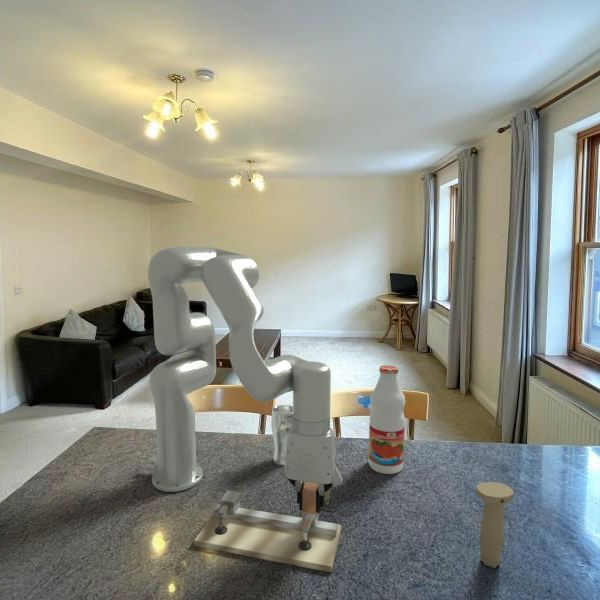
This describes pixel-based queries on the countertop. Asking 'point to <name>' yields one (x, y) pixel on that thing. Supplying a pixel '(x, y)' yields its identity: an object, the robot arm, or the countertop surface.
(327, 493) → the tactical tomahawk
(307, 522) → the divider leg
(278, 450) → the beer glass
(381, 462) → the fruit juice
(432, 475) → the countertop surface
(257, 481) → the countertop surface
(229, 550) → the hole plate
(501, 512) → the handle
